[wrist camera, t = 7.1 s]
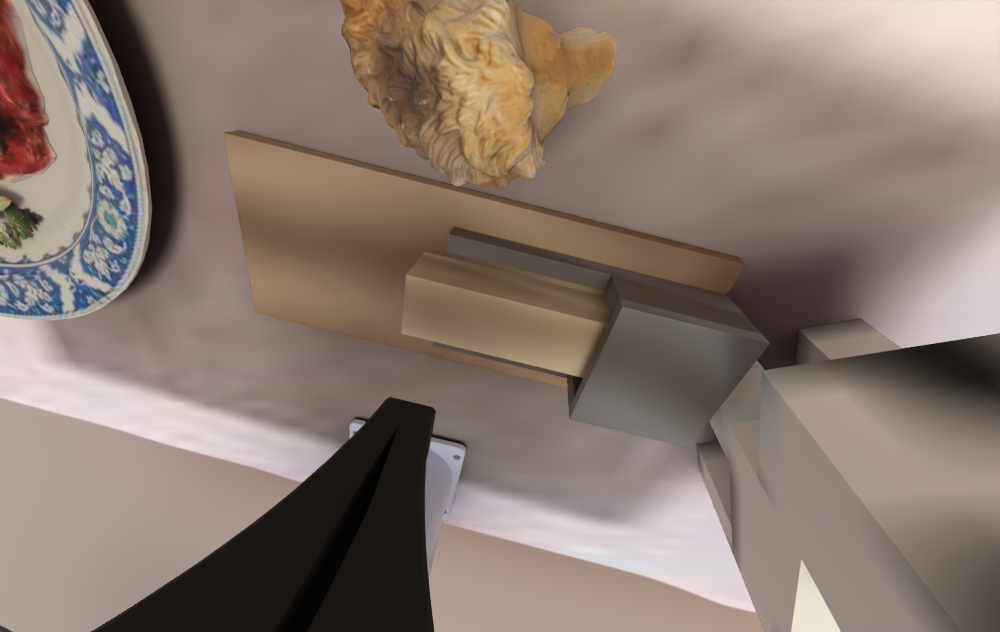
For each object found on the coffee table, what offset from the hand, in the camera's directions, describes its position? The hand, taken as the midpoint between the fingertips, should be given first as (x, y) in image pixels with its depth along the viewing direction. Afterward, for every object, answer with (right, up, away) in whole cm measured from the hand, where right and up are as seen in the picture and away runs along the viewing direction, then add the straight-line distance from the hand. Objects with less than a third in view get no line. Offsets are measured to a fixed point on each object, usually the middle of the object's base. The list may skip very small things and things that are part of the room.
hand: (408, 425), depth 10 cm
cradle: (+1, +5, +8) cm, 9 cm away
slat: (+5, +3, +7) cm, 9 cm away
